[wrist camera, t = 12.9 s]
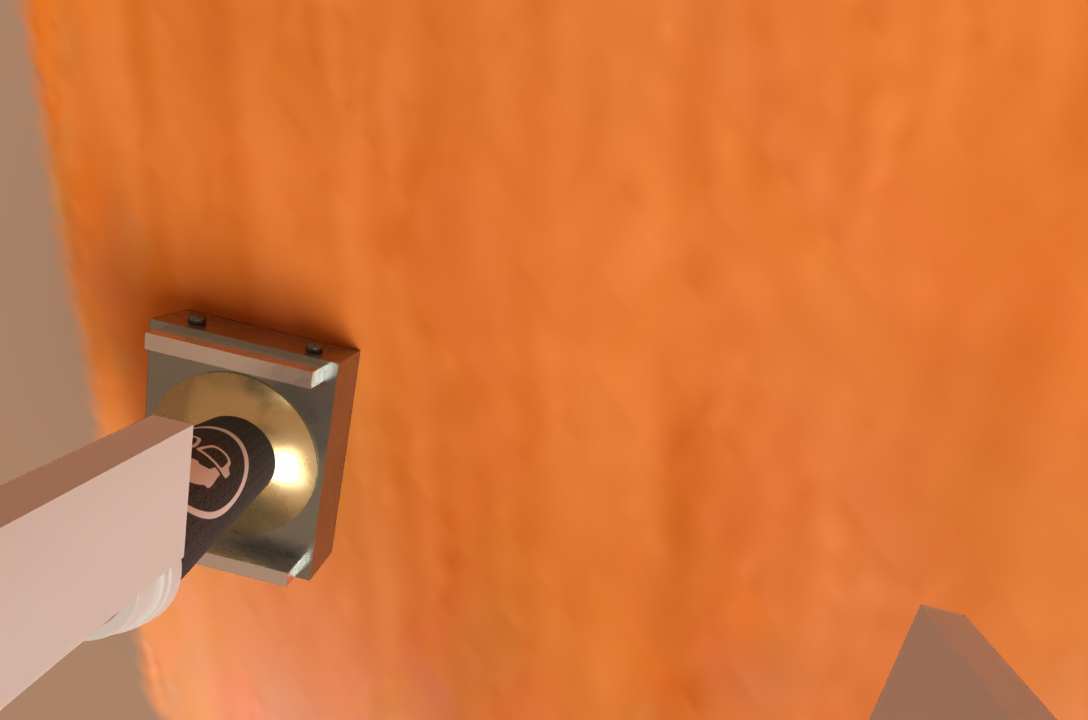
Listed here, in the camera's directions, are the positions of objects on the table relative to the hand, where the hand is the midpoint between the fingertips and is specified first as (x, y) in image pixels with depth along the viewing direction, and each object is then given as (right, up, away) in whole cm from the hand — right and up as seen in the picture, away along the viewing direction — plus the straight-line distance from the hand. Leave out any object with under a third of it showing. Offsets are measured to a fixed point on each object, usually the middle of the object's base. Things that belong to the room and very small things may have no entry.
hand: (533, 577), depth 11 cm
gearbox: (-23, -2, +39) cm, 45 cm away
